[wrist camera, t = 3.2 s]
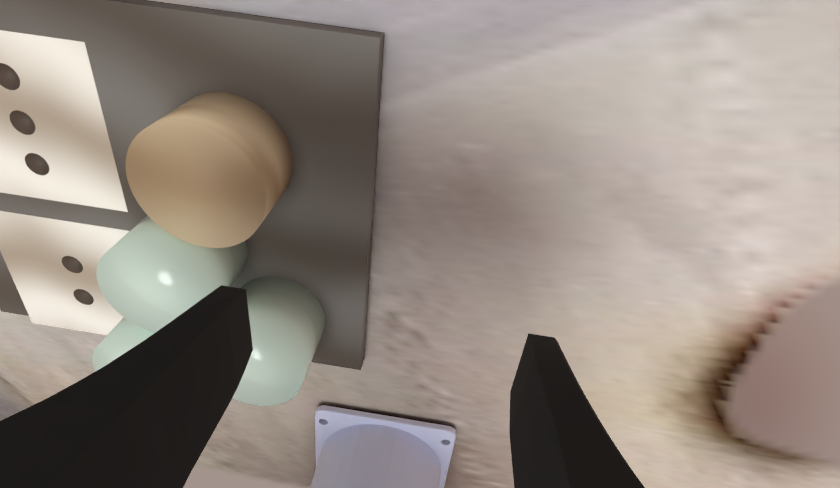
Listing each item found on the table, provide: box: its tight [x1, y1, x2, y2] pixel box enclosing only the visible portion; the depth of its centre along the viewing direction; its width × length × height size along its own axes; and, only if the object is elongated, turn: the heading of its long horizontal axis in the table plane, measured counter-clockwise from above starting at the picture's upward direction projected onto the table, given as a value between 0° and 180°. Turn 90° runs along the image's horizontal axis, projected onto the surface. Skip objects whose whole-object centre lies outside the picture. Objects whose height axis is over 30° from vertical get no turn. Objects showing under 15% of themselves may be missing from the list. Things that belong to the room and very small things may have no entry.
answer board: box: [0, 0, 384, 370], centre depth 22 cm, size 16×19×1 cm
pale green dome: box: [232, 276, 326, 406], centre depth 22 cm, size 4×4×4 cm
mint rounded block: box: [92, 317, 155, 372], centre depth 24 cm, size 4×4×4 cm
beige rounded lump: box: [126, 92, 293, 248], centre depth 18 cm, size 5×5×3 cm
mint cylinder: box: [96, 215, 248, 333], centre depth 21 cm, size 4×4×4 cm
